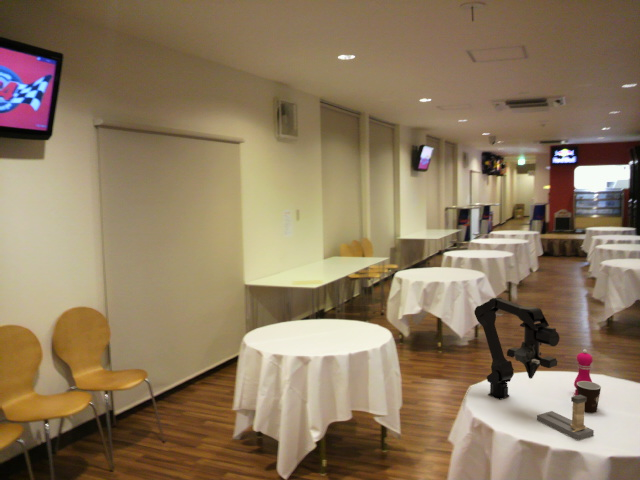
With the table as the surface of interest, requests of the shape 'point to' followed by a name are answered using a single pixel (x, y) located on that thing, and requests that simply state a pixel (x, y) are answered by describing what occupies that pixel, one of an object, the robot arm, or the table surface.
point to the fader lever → (578, 412)
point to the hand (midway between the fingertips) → (530, 378)
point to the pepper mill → (583, 368)
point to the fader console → (564, 425)
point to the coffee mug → (589, 395)
